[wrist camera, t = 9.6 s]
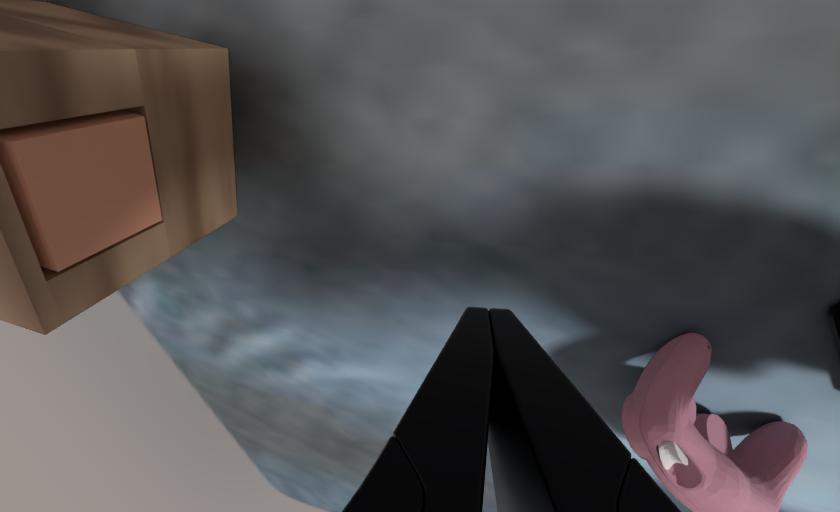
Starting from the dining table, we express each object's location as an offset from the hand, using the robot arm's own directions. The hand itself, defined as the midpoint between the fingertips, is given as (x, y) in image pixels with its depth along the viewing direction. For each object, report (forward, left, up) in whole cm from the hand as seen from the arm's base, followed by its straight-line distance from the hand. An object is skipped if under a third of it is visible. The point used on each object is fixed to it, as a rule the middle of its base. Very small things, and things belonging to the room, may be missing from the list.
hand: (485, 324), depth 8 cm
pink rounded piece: (-18, -3, -12) cm, 22 cm away
